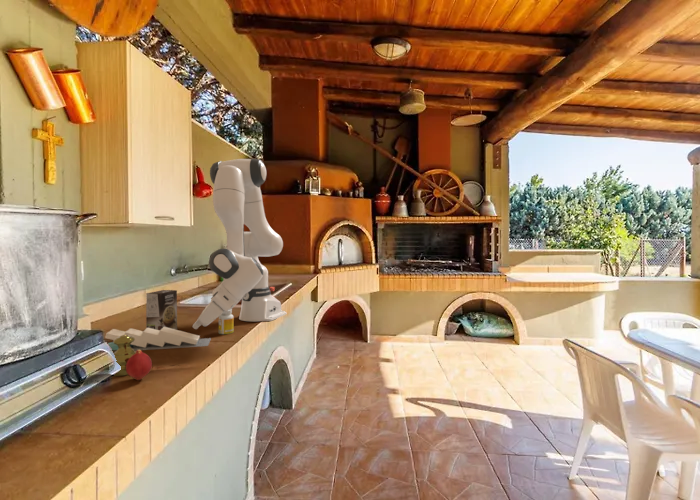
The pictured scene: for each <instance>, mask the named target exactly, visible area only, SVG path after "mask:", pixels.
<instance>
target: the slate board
mask: <svg viewBox="0 0 700 500" xmlns="http://www.w3.org/2000/svg"><path fill="white" fill-rule="evenodd" d="M211 340H212V337H209V338H208V337H207V338H206V337H205V338H199V340H198V342H197V344H196V345H194V344H190V343H186V342H182V343H181V345H180V346H178V345H174V344H170V343H166V344H165V345H164V346H163V347H161V346H157V345H153V344H149V345H148V346H147V347H146V348H144V347H140V346H136V345H133V346H132V347H131V348H132V349H134V351H137V350H141V351H147V350H148V351H149V350H151V351H152V350H167V349H181V348H198V347H199V348H200V347H208V346H209V345H210V342H211Z"/></svg>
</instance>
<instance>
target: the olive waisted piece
mask: <svg viewBox="0 0 700 500" xmlns="http://www.w3.org/2000/svg"><path fill="white" fill-rule="evenodd" d="M134 340H135V338H134V337H132V336H128V335H121V336H120V337H118V338H116V339H115V340H112V342H113V343H114V344H116V345H117V346H118V350H115V351H114V352H113V354H114V355H115V358H116V360H117V361H116V362H117V363H118V364H119V365H120V366H121V370H120V371H119V372H118V373H116V374H115V375H114V376H113V377H123V376H129V375H128V373H127V372H126V364H127V361H128V360H129V358H130V357H131V356H132V355H134V354H135V353H136V351H134V349H132V348H131V347H130V344H131V343H132V342H133V341H134Z"/></svg>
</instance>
